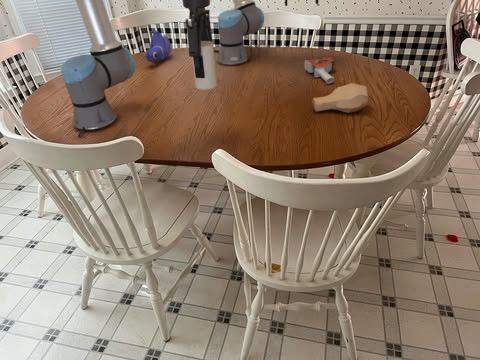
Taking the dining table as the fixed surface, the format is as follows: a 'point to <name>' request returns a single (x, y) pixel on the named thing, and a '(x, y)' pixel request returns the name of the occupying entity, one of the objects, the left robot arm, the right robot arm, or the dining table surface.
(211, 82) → the can
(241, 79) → the dining table surface
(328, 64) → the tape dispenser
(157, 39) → the toy
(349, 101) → the squash
